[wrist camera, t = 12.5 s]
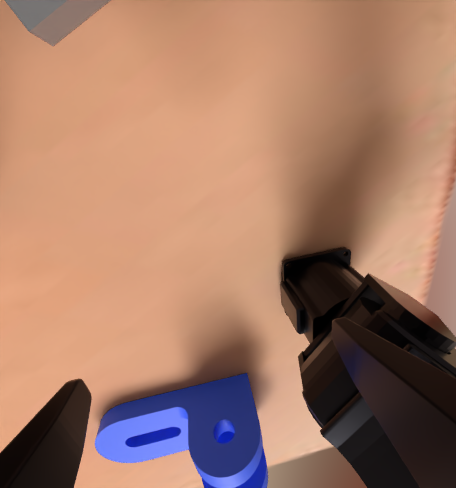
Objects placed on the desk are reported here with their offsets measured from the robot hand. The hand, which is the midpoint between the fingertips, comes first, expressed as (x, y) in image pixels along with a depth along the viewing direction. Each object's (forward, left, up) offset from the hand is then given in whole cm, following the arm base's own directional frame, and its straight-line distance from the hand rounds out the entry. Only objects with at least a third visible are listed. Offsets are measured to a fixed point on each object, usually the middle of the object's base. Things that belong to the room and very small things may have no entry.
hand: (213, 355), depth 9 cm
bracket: (+7, +23, -13) cm, 28 cm away
